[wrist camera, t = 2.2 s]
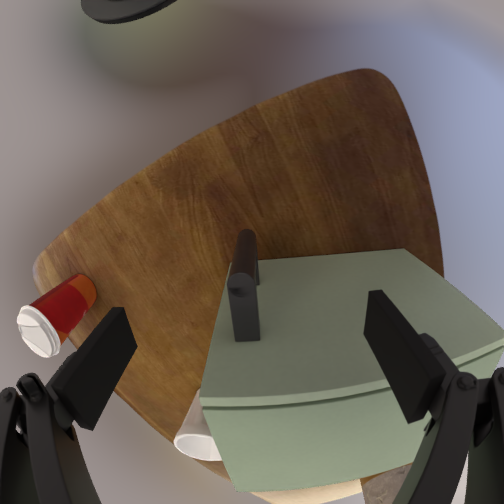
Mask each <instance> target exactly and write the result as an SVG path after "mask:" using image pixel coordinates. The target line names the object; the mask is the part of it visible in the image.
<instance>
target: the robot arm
mask: <svg viewBox="0 0 504 504" xmlns="http://www.w3.org/2000/svg"><path fill="white" fill-rule="evenodd" d="M107 1H123V0H107ZM363 335H364V336H365V338H366V340H367V342H368V344H369V346H370V348H371V350H372V352H373V353H374V355H375V357H376V359H377V361H378V363H379V365H380V367H381V369H382V371H383V373H384V375H385V377H386V379H387V381H388V383H389V385H390V387H391V389H392V391H393V393H394V395H395V398H396V400H397V402H398V404H399V406H400V408H401V410H402V412H403V415H404V417H405V419H406V421H407V423H408V424H410V423H413V422H416V421H419V420H422V419H424V417H425V415H426V413H427V412H428V410H429V412H430V414H431V416H432V417H431V419H430V420H429V422H428V424H427V425H426V427H425V428H424V430H423V431H425V434H424V437H423V439H422V442H421V444H420V447H419V449H418V452H417V454H416V457H415V459H414V461H413V463H412V466H411V468H410V470H409V472H408V474H407V476H406V478H405V480H404V482H403V484H402V486H401V488H400V490H399V492H398V494H397V495H396V497H395V499H394V501H393V502H392V504H451V502H452V499H453V497H454V494H455V492H456V489H457V486H458V483H459V480H460V477H461V474H462V471H463V468H464V464H465V461H466V457H467V454H468V474H467V487H466V495H465V503H464V504H504V368H503V367H501V368H497V369H496V370H495V371H494V373H493V375H492V377H491V378H484V379H477V378H476V377H475V376H474V375H473V374H471V373H468V372H460V371H459V369H458V368H457V367H456V365H455V364H454V363H453V361H452V360H451V359H450V358H449V356H448V355H447V354H446V352H444V350H443V349H442V347H441V346H439V344H438V342H437V341H436V340H435V339H434V338H433V337H431V336H430V335H428V334H427V333H422V334H418V333H417V332H416V331H415V329H414V328H413V327H412V326H411V324H410V323H409V322H408V321H407V319H406V318H405V317H404V316H403V314H402V313H401V312H400V311H399V309H398V308H397V307H396V306H395V305H394V303H393V302H392V301H391V300H390V299H389V297H388V296H387V295H386V294H385V293H384V292H383V290H382V289H380V290H372V291H369V292H368V301H367V310H366V318H365V325H364V332H363ZM137 347H138V346H137V344H136V341H135V338H134V336H133V333H132V330H131V327H130V324H129V322H128V319H127V316H126V313H125V310H124V307H113V308H112V309H111V310H110V311H109V312H108V313H107V315H106V316H105V317H104V318H103V319H102V321H101V322H100V323H99V324H98V325H97V327H96V328H95V329H94V330H93V331H92V333H91V334H90V335H89V336H88V337H87V339H86V340H85V341H84V342H83V344H82V345H81V346H80V347H79V349H78V350H77V351H76V352H74V353H72V354H71V355H70V356H68V357H67V358H66V360H65V361H64V362H63V365H61V366H60V367H59V370H57V371H56V373H55V374H54V375H53V377H52V378H51V379H50V381H49V382H48V383H47V385H46V386H44V385H43V383H42V382H41V380H40V379H39V377H38V376H37V375H36V374H35V373H28V374H25V375H23V376H22V377H21V378H20V379H19V380H18V382H17V385H16V386H17V388H18V389H19V391H20V392H21V393H22V395H19V394H18V392H17V391H16V389H15V388H13V387H8V388H5V389H4V390H2V392H1V393H0V504H101V501H100V499H99V497H98V495H97V492H96V490H95V488H94V485H93V483H92V480H91V478H90V475H89V472H88V470H87V467H86V464H85V461H84V458H83V455H82V452H81V449H80V445H79V442H78V438H77V435H76V431H75V428H74V426H73V425H72V422H73V420H75V421H76V422H77V423H78V425H79V426H80V427H82V428H85V429H88V430H92V431H93V430H94V428H95V426H96V423H97V421H98V419H99V418H100V416H101V414H102V411H103V410H104V408H105V406H106V404H107V402H108V400H109V398H110V396H111V394H112V392H113V391H114V389H115V387H116V385H117V383H118V381H119V379H120V377H121V376H122V374H123V372H124V370H125V368H126V367H127V365H128V363H129V361H130V359H131V358H132V356H133V354H134V352H135V350H136V349H137ZM16 425H17V426H18V427H19V428H20V429H21V431H20V433H18V432H17V430H16Z"/></svg>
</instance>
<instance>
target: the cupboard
mask: <svg viewBox="0 0 504 504" xmlns="http://www.w3.org/2000/svg"><path fill="white" fill-rule="evenodd" d="M503 351H504V345H502V346H500V347H498V348H496V349H494V350H492V351H490V352H488V353H485V354H483V355H481V356H479V357H476V358H474V359H472V360H469V361H467V362H464V363H462V364H459V365H457V366H456V367H457V368H458V369H459V371H460V372H468V373H471V374H473V375H474V376H475V377H476V378H477V379H484V378H490V377H491V375H492V373H493V371H494V370H495V368H496V365H497V364H498V362H499V359H500V358H501V355H502V353H503ZM202 411H203V414H204V416H205V419H206V422H207V424H208V427H209V430H210V432H211V435H212V437H213V440H214V442H215V444H216V447H217V449H218V452H219V454H220V456H221V459H222V461H223V463H224V465H225V468H226V470H227V472H228V474H229V476H230V479H231V481H232V483H233V485H234V487H235V489H236V491H237V492H265V491H283V490H295V489H304V488H312V487H319V486H325V485H331V484H336V483H341V482H346V481H351V480H355V479H359V478H363V477H367V476H371V475H375V474H378V473H382V472H385V471H388V470H391V469H394V468H397V467H400V466H403V465H406V464H409V463H411V462H413V461H414V459H415V457H416V454H417V452H418V449H419V447H420V444H421V442H422V439H423V437H424V434H425V431H423V430H424V428H425V427H426V425H427V424H428V422H429V420H430V419H431V417H432V416H431V414H430V412H429V410H428V412H427V413H426V415H425V417H424V419H422V420H419V421H416V422H413V423H410V424H408V423H407V421H406V419H405V417H404V415H403V412H402V410H401V408H400V406H399V404H398V402H397V400H396V398H395V395H394V393H393V391H392V389H391V387H386V388H382V389H378V390H373V391H369V392H364V393H359V394H354V395H349V396H343V397H337V398H331V399H324V400H317V401H309V402H300V403H291V404H279V405H263V406H203V408H202Z"/></svg>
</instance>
